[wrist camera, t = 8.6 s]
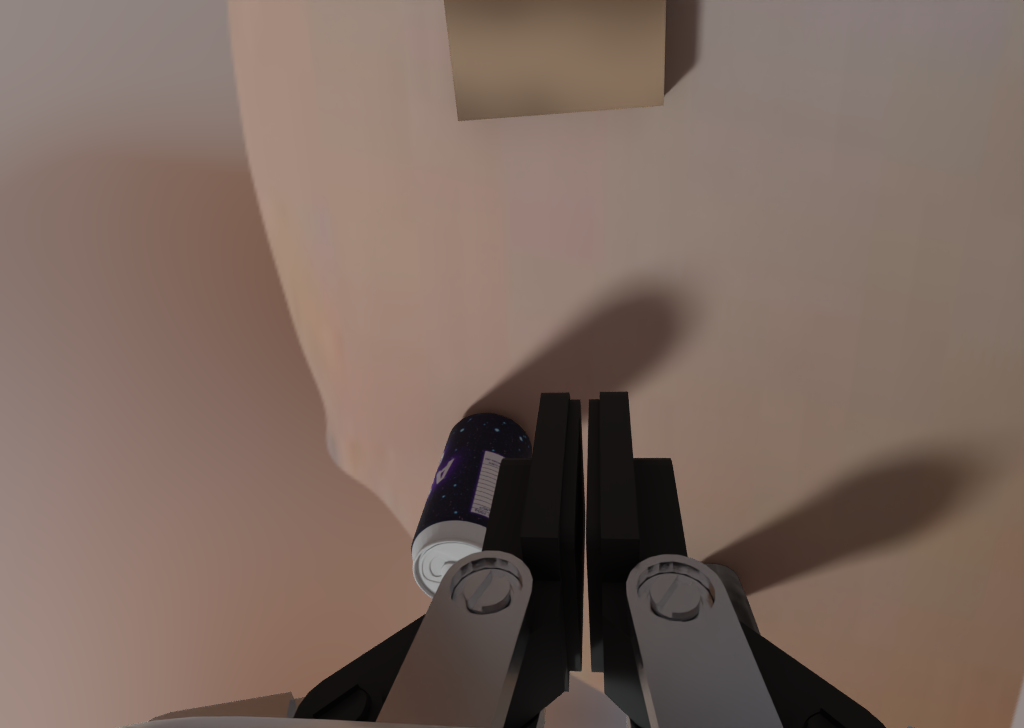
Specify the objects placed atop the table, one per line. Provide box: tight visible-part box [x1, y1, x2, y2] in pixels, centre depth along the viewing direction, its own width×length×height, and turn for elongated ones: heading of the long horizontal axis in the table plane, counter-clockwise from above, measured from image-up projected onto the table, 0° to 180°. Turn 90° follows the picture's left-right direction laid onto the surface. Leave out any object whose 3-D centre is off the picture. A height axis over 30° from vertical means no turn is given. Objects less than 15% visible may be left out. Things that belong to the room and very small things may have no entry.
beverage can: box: [411, 413, 532, 599], centre depth 39 cm, size 6×6×12 cm
